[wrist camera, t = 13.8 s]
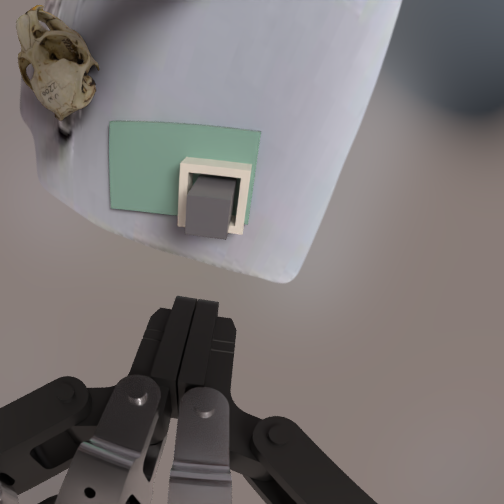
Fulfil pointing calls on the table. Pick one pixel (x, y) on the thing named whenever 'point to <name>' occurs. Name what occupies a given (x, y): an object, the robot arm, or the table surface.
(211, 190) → the plug
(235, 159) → the board
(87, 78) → the skull
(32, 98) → the table surface
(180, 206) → the frame
